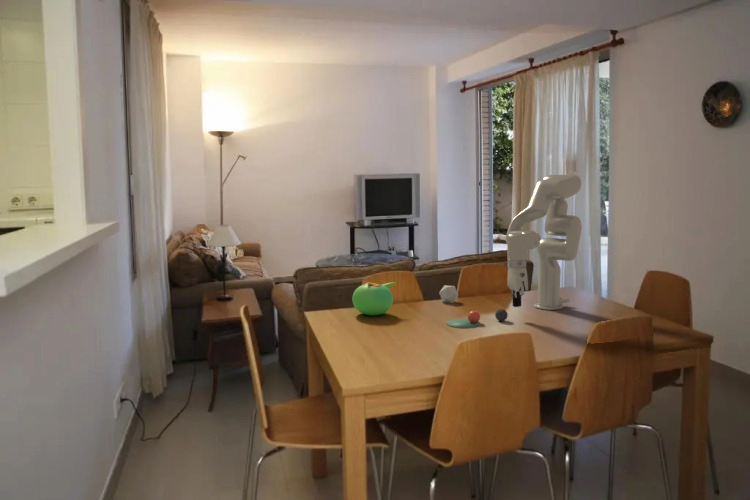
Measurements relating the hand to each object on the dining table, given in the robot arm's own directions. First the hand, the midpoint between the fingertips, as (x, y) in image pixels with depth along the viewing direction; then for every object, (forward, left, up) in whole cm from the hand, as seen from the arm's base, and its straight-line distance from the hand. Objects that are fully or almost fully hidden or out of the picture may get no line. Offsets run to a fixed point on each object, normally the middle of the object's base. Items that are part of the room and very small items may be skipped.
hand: (516, 306), depth 237 cm
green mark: (+24, +1, -6) cm, 25 cm away
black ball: (+7, +1, -3) cm, 8 cm away
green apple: (+56, -24, -6) cm, 61 cm away
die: (+16, -38, -6) cm, 42 cm away
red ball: (+19, +1, -3) cm, 20 cm away
